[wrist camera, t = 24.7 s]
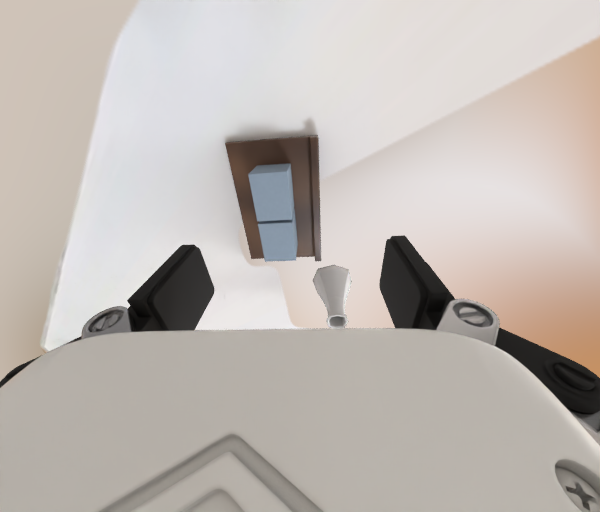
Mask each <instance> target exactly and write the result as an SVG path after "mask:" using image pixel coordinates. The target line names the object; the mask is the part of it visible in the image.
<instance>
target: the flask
mask: <svg viewBox="0 0 600 512" xmlns="http://www.w3.org/2000/svg"><path fill="white" fill-rule="evenodd" d="M313 282H314V285H315V288H316V290H317V292H318V294H319V296H320V297H321V299H322V300H323V302H324V304H325V306H326V308H327V311H328V318H327V324H328V326H329V327H330V328H345V326H346V325H347V323H348V320H347V317H346V315H345V302H346V298H347V295H348V291H349V288H350V285H351V282H352V281H351V277H350V273H349V270H348V269H345V268H342V267H339V266H336V265H331V266H327V267H323V268H320V269H318V270H317V272H316V274H315V276H314V279H313Z"/></svg>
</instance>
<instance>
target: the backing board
mask: <svg viewBox="0 0 600 512" xmlns="http://www.w3.org/2000/svg"><path fill="white" fill-rule="evenodd" d="M225 145H226V149H227V153H228V158H229V162H230V167H231V171H232V175H233V180H234V184H235V188H236V193H237V197H238V202H239V206H240V210H241V215H242V219H243V223H244V228H245V232H246V236H247V241H248V245H249V250H250V254H251V258H252V259H256V258H257V259H258V258H264V254H263V248H262V243H261V238H260V233H259V227H258V223H259V221H257V218H256V212H255V207H254V202H253V197H252V191H251V186H250V181H249V176H248V174H249V173H250V172H251V171H252V170H253V169H254V168H255V167H256V166H258V165H273V164H287V163H291V174H292V185H293V196H294V209H295V218H296V229H297V241H298V246H297V255H296V257H309V256H311V257H312V256H315V261H321V237H320V236H321V235H320V233H321V232H320V190H319V146H318V135H316V136H303V137H290V138H277V139H264V140H251V141H238V142H227V143H225Z"/></svg>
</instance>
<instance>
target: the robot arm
mask: <svg viewBox="0 0 600 512" xmlns="http://www.w3.org/2000/svg"><path fill="white" fill-rule="evenodd" d="M380 290H381V293H382V295H383V298H384V300H385V303H386V305H387V308H388V310H389V313H390V316H391V318H392V321H393V323H394V325H395V328H333V329H243V330H195V328H196V326H197V324H198V322H199V320H200V318H201V317H202V315H203V313H204V311H205V309H206V307H207V305H208V304H209V302H210V300H211V298H212V296H213V294H214V286H213V283H212V281H211V278H210V275H209V273H208V270H207V267H206V265H205V262H204V259H203V256H202V254H201V251H200V249H199V248H198V247H196V246H195V245H182V246H180V247H179V248H178V249H177V250H176V251H175V252H174V253H173V254H172V255H171V257H170V258H169V259H168V260H167V261H166V262H165V263H164V264H163V265H162V266H161V267H160V268H159V269H158V270H157V271H156V272H155V273H154V274H153V275H152V276H151V277H150V278H149V279H148V280H147V281H146V282H145V283H144V284H143V285H142V286H141V287H140V288H139V289H138V290H137V291H136V292H135V293H134V294H133V295H132V296H131V297H130V298H129V299H128V300H127V301H128V303H129V304H130V307H129V308H128V309H127V308H126V307H123V306H117V307H112V308H109V309H106V310H104V311H102V312H100V313H98V314H97V315H95V316H93V317H92V318H91V319H90V320H89V321H87V323H86V324H85V325H84V327H83V330H82V336H81V337H79V338H77V339H75V340H73V341H71V342H69V343H67V344H65V345H62V346H60V347H58V348H56V349H54V350H51V351H49V352H47V353H45V354H44V355H42V356H39V357H37V358H36V359H33V360H31V361H29V362H27V363H25V364H22V365H20V366H18V367H16V368H15V369H14V370H12V371H11V372H9V373H8V374H7V375H6V377H5V378H4V379H2V381H1V382H0V512H600V378H599V377H597V375H595V374H594V373H593V372H591V371H590V370H588V369H587V368H586V367H584V366H582V365H580V364H578V363H576V362H574V361H572V360H570V359H568V358H566V357H564V356H561V355H559V354H557V353H555V352H552V351H550V350H548V349H546V348H544V347H541V346H539V345H537V344H535V343H532V342H530V341H528V340H526V339H523V338H521V337H519V336H517V335H515V334H512V333H510V332H508V331H506V330H503V329H501V328H499V325H500V323H499V319H498V317H497V315H496V314H495V313H494V312H493V311H492V310H490V309H489V308H488V307H486V306H485V305H483V304H481V303H478V302H475V301H472V300H468V299H455V298H454V297H453V296H452V294H451V293H450V292H449V290H448V289H447V288H446V287H445V285H444V284H443V283H442V281H441V280H440V279H439V278H438V276H437V275H436V274H435V273H434V271H433V270H432V269H431V267H430V266H429V265H428V264H427V263H426V262H425V261H424V260H423V259H422V257H421V256H420V255H419V253H418V252H417V251H416V250H415V248H414V247H413V245H412V244H411V243H410V242H409V240H408V239H407V238H406V237H405V236H392V237H391V238H390V239H388V240H387V241H386V247H385V253H384V259H383V265H382V272H381V278H380Z"/></svg>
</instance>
